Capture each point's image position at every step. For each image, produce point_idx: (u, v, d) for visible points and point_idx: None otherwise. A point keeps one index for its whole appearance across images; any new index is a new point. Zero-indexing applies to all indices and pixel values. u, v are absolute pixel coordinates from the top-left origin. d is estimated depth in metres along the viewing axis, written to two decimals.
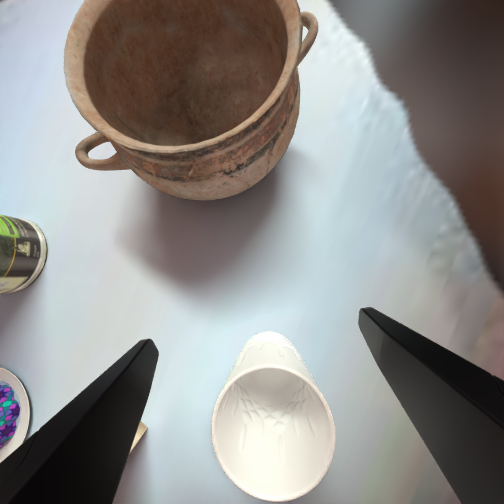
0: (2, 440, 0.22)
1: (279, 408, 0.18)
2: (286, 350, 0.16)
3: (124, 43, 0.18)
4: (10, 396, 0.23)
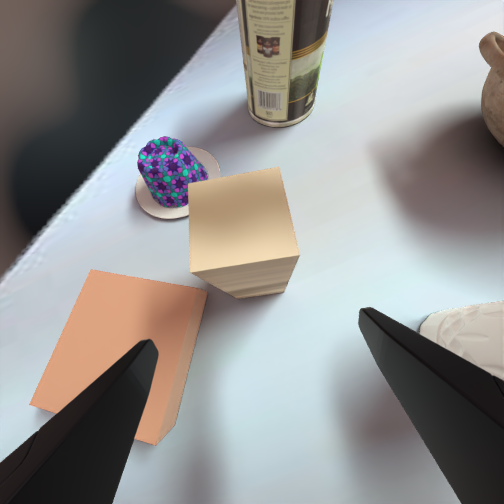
0: (178, 201, 0.24)
1: None
2: None
3: None
4: None
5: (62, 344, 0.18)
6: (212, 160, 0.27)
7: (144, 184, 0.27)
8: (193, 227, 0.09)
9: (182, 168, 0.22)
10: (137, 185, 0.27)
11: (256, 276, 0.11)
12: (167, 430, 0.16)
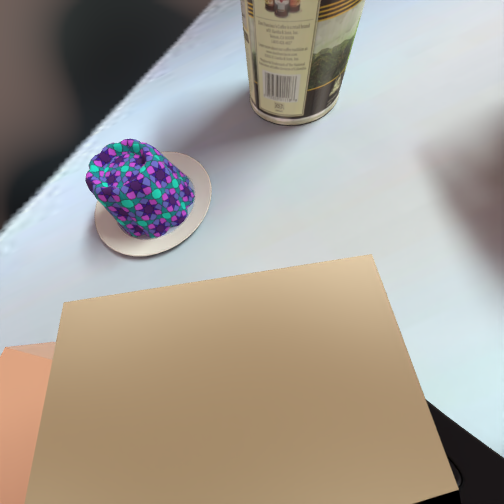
0: (149, 231, 0.17)
1: None
2: None
3: None
4: (188, 203, 0.18)
5: None
6: (202, 173, 0.19)
7: None
8: None
9: (151, 187, 0.15)
10: (98, 203, 0.19)
11: None
12: None
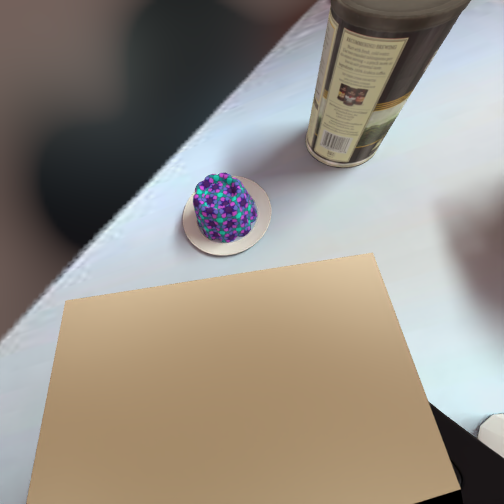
0: (223, 238, 0.24)
1: None
2: None
3: None
4: (252, 220, 0.25)
5: None
6: (265, 198, 0.26)
7: (192, 209, 0.26)
8: None
9: (237, 211, 0.21)
10: (185, 209, 0.26)
11: None
12: None
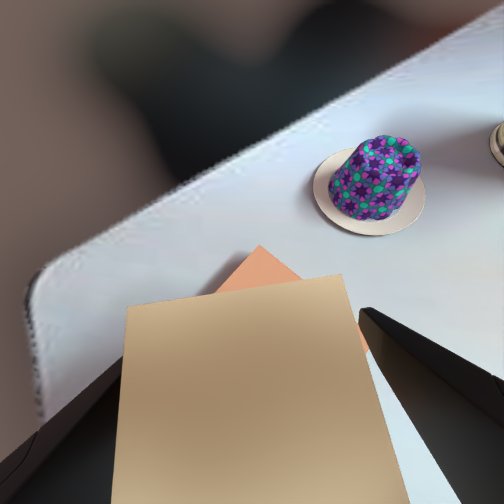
0: (357, 213, 0.21)
1: None
2: None
3: None
4: (396, 207, 0.21)
5: None
6: (419, 189, 0.21)
7: (327, 170, 0.23)
8: (126, 455, 0.04)
9: (403, 187, 0.17)
10: (320, 167, 0.23)
11: None
12: None
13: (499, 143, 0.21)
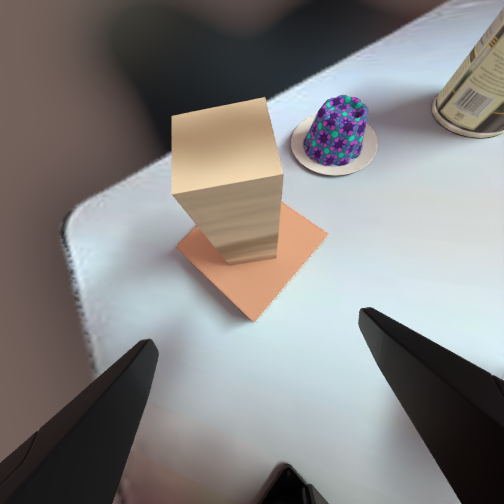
0: (322, 158, 0.26)
1: None
2: None
3: None
4: (354, 156, 0.27)
5: None
6: (374, 143, 0.27)
7: (303, 129, 0.29)
8: (176, 154, 0.09)
9: (353, 132, 0.23)
10: (298, 126, 0.29)
11: (243, 216, 0.11)
12: (256, 320, 0.20)
13: (437, 105, 0.27)
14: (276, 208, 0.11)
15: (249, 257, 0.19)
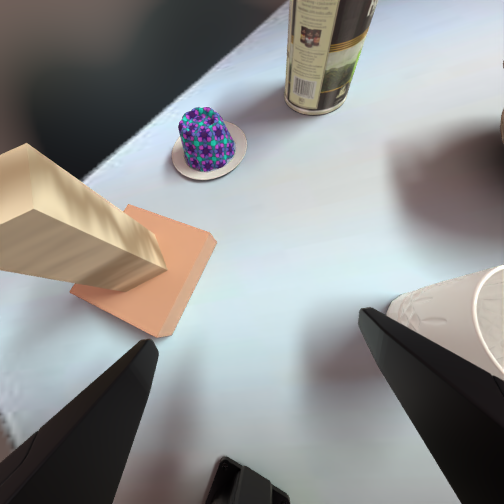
0: (201, 166, 0.28)
1: None
2: None
3: None
4: (229, 156, 0.29)
5: None
6: (243, 141, 0.30)
7: (182, 143, 0.31)
8: None
9: (211, 138, 0.25)
10: (176, 142, 0.31)
11: (56, 250, 0.12)
12: (166, 334, 0.20)
13: (286, 95, 0.31)
14: (81, 234, 0.12)
15: (134, 278, 0.19)
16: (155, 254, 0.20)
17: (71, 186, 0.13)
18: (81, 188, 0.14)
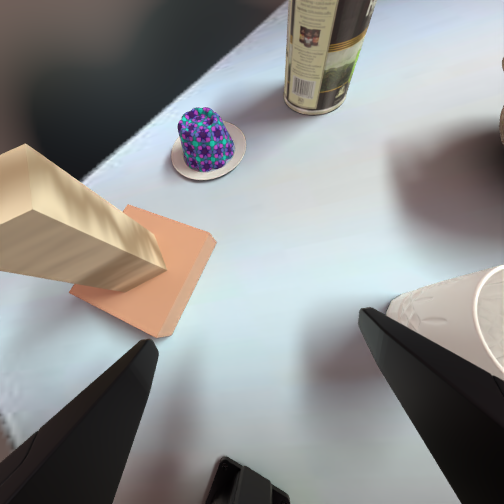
0: (200, 166, 0.28)
1: None
2: None
3: None
4: (228, 157, 0.29)
5: None
6: (243, 141, 0.30)
7: None
8: None
9: (210, 138, 0.25)
10: (176, 142, 0.31)
11: (55, 250, 0.12)
12: (165, 334, 0.20)
13: (285, 95, 0.31)
14: (80, 234, 0.12)
15: (134, 279, 0.19)
16: (155, 254, 0.20)
17: (70, 186, 0.13)
18: (80, 188, 0.14)
